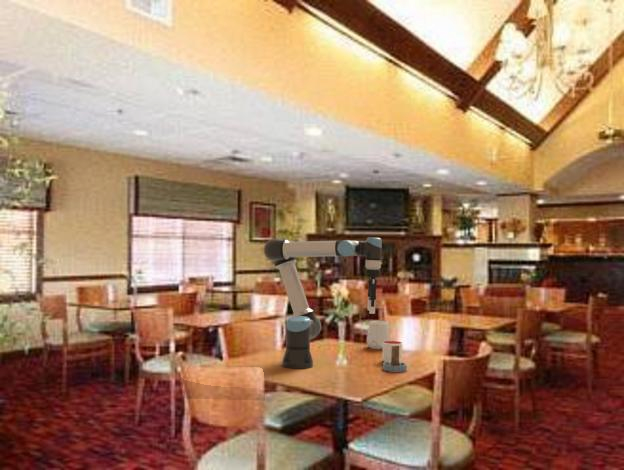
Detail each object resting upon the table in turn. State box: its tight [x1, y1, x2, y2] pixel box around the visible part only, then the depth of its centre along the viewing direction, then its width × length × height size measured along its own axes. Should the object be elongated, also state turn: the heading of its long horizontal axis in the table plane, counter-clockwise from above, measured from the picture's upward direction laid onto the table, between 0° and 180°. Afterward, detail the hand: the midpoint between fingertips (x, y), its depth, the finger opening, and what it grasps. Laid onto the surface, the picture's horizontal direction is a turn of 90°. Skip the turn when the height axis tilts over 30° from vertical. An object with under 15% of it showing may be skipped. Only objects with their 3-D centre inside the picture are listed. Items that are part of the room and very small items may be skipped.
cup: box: [381, 340, 403, 363], centre depth 301 cm, size 10×10×10 cm
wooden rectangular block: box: [391, 345, 399, 366], centre depth 282 cm, size 3×2×11 cm
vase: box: [366, 320, 392, 350], centre depth 342 cm, size 14×14×15 cm
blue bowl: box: [382, 361, 408, 373], centre depth 282 cm, size 11×11×4 cm
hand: (371, 311), depth 289 cm, fingers open, 13 cm apart
